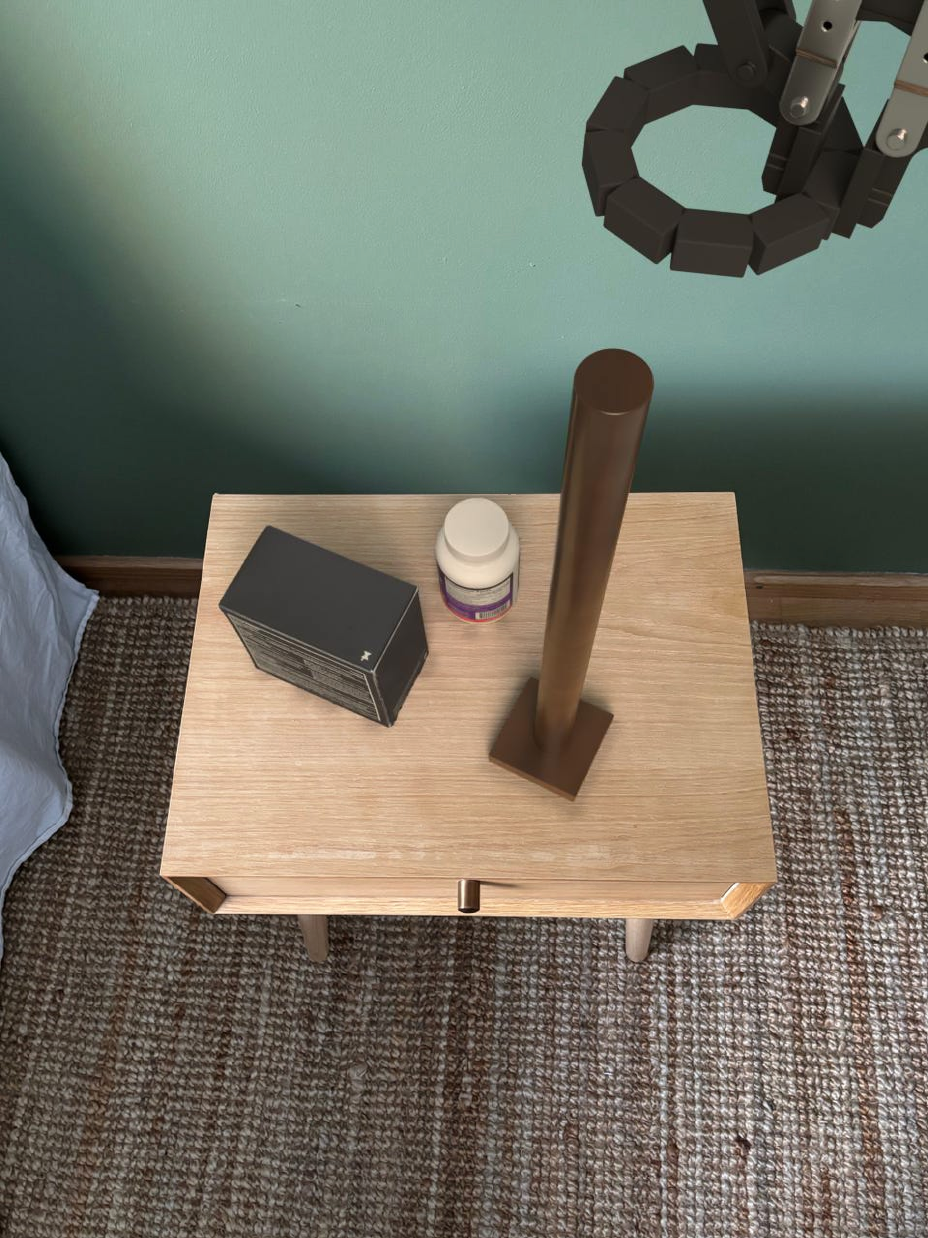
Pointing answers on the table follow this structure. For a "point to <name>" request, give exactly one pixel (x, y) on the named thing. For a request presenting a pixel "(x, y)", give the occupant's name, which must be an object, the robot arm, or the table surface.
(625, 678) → the table surface
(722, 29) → the robot arm
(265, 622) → the small box
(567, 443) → the brown upright dowel
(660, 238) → the ring
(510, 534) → the pill bottle
